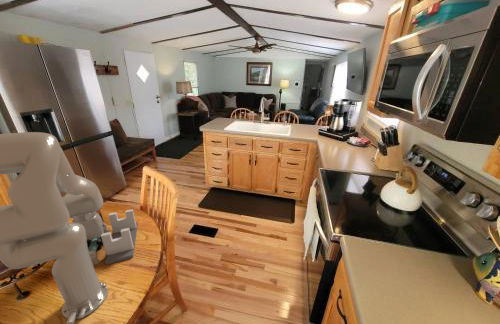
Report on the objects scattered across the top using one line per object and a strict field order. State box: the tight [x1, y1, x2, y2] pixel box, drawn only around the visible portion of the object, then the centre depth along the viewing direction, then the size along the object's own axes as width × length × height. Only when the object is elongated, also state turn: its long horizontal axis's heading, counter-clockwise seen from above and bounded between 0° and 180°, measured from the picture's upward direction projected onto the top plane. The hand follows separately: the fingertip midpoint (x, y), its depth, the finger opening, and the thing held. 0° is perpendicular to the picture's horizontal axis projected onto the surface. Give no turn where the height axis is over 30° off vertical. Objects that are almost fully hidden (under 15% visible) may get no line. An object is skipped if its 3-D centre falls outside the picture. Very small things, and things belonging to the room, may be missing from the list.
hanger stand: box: [101, 208, 138, 265], centre depth 95 cm, size 24×10×12 cm, turn 23°
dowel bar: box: [88, 222, 109, 266], centre depth 92 cm, size 20×6×6 cm, turn 23°
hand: (95, 247), depth 93 cm, fingers closed on dowel bar, 3 cm apart
